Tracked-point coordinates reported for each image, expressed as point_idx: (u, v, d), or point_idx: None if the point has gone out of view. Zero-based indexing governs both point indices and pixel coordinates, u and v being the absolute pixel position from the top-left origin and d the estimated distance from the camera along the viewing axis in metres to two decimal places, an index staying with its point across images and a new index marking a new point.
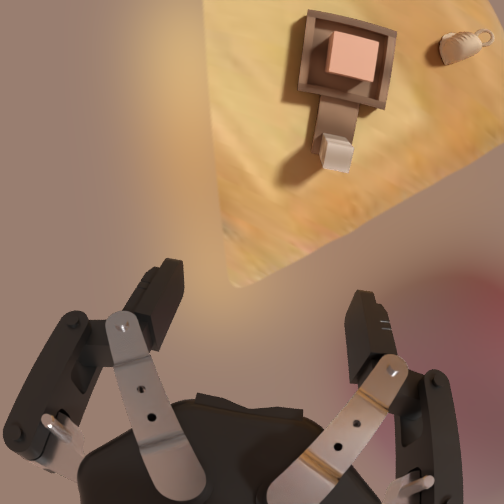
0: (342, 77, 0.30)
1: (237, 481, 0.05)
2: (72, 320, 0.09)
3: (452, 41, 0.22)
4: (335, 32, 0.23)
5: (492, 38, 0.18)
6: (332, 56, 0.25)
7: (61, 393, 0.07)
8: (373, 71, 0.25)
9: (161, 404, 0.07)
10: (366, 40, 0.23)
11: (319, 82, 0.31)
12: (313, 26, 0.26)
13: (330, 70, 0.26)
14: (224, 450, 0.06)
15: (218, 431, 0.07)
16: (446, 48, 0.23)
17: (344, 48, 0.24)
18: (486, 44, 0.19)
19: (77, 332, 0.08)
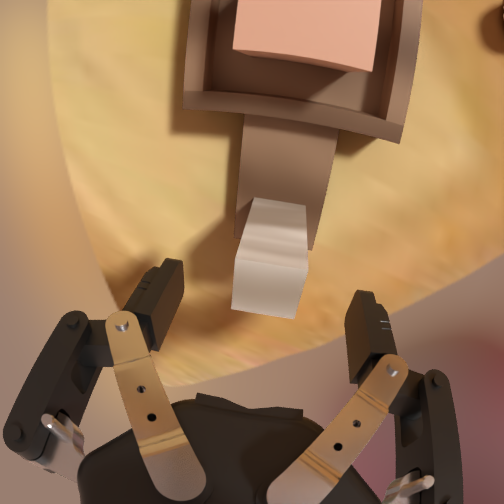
0: (296, 65, 0.13)
1: (237, 481, 0.05)
2: (72, 320, 0.09)
3: None
4: None
5: None
6: (241, 5, 0.07)
7: (61, 393, 0.07)
8: (372, 40, 0.07)
9: (161, 404, 0.07)
10: None
11: (241, 82, 0.13)
12: None
13: (237, 46, 0.08)
14: (225, 450, 0.06)
15: (218, 431, 0.07)
16: None
17: None
18: None
19: (77, 332, 0.08)
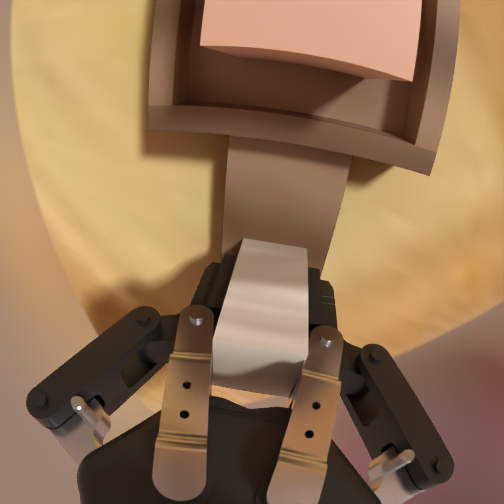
0: (297, 68, 0.09)
1: (237, 481, 0.05)
2: (143, 316, 0.09)
3: None
4: None
5: None
6: None
7: (103, 382, 0.08)
8: (413, 34, 0.04)
9: (199, 406, 0.07)
10: None
11: (224, 91, 0.10)
12: None
13: (207, 40, 0.05)
14: (225, 449, 0.06)
15: (218, 431, 0.07)
16: None
17: None
18: None
19: (150, 328, 0.09)
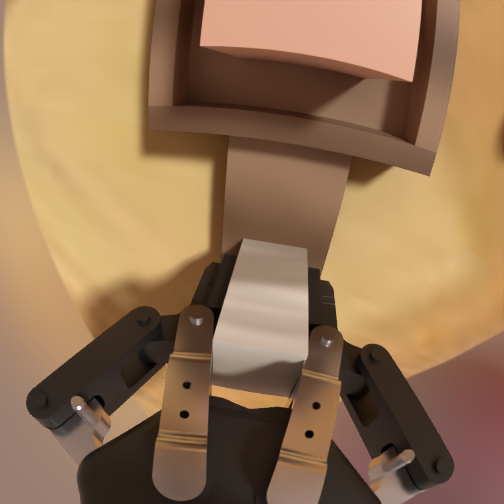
0: (297, 68, 0.09)
1: (237, 481, 0.05)
2: (143, 316, 0.09)
3: None
4: None
5: None
6: None
7: (103, 382, 0.08)
8: (413, 34, 0.04)
9: (199, 406, 0.07)
10: None
11: (224, 91, 0.10)
12: None
13: (207, 40, 0.05)
14: (225, 449, 0.06)
15: (218, 431, 0.07)
16: None
17: None
18: None
19: (150, 328, 0.09)
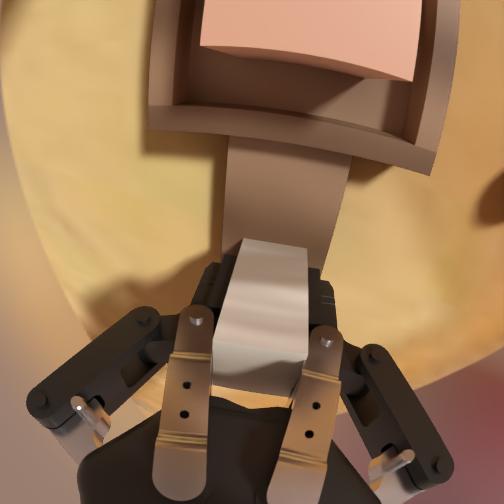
0: (297, 68, 0.09)
1: (237, 480, 0.05)
2: (143, 317, 0.09)
3: None
4: None
5: None
6: None
7: (103, 382, 0.08)
8: (413, 34, 0.04)
9: (199, 406, 0.07)
10: None
11: (224, 91, 0.10)
12: None
13: (207, 40, 0.05)
14: (225, 449, 0.06)
15: (218, 431, 0.07)
16: None
17: None
18: None
19: (150, 328, 0.09)
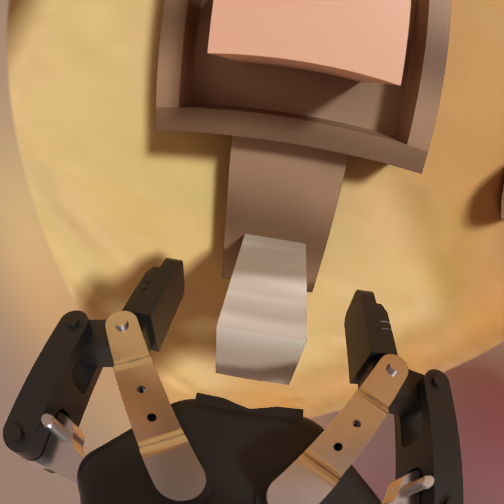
0: (296, 72, 0.10)
1: (237, 481, 0.05)
2: (72, 320, 0.09)
3: None
4: None
5: None
6: None
7: (61, 393, 0.07)
8: (402, 41, 0.05)
9: (161, 404, 0.07)
10: None
11: (228, 94, 0.11)
12: None
13: (213, 48, 0.06)
14: (225, 450, 0.06)
15: (218, 431, 0.07)
16: None
17: None
18: None
19: (77, 332, 0.08)
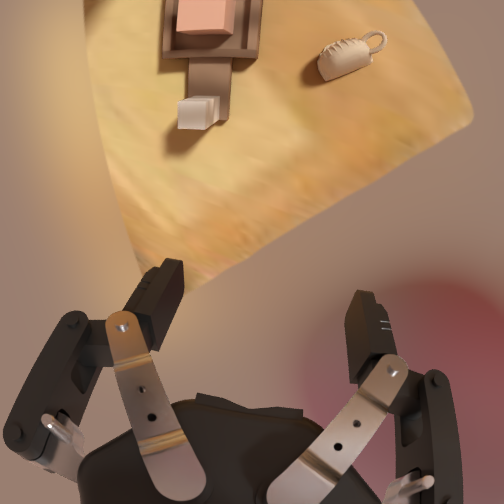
0: (210, 35, 0.27)
1: (237, 481, 0.05)
2: (73, 320, 0.09)
3: (325, 53, 0.25)
4: None
5: (383, 41, 0.21)
6: (178, 16, 0.22)
7: (61, 393, 0.07)
8: (222, 18, 0.22)
9: (161, 404, 0.07)
10: None
11: (187, 46, 0.28)
12: None
13: (177, 29, 0.23)
14: (224, 449, 0.06)
15: (218, 431, 0.07)
16: (321, 62, 0.26)
17: (190, 4, 0.21)
18: (375, 50, 0.23)
19: (77, 332, 0.08)
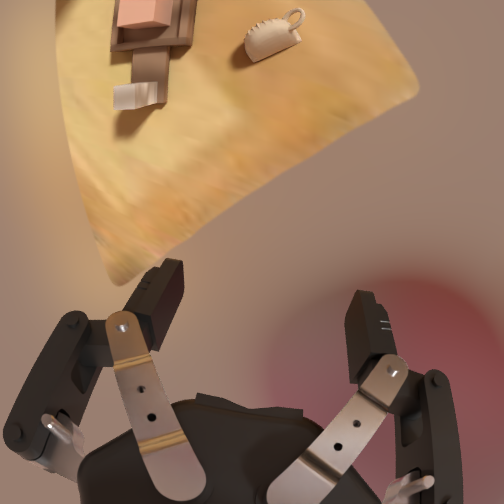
0: (151, 28, 0.28)
1: (237, 481, 0.05)
2: (72, 320, 0.09)
3: (247, 34, 0.26)
4: None
5: (301, 17, 0.23)
6: (119, 13, 0.22)
7: (61, 393, 0.07)
8: (153, 11, 0.23)
9: (161, 404, 0.07)
10: None
11: (132, 39, 0.28)
12: None
13: (118, 25, 0.23)
14: (225, 450, 0.06)
15: (218, 431, 0.07)
16: (245, 44, 0.28)
17: (128, 3, 0.22)
18: (293, 26, 0.24)
19: (77, 332, 0.08)
